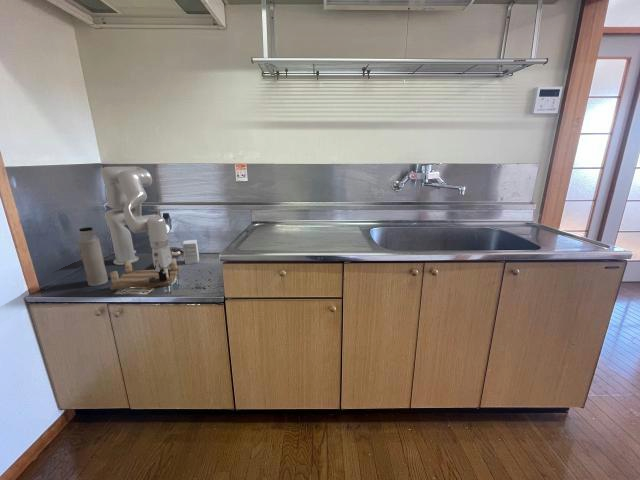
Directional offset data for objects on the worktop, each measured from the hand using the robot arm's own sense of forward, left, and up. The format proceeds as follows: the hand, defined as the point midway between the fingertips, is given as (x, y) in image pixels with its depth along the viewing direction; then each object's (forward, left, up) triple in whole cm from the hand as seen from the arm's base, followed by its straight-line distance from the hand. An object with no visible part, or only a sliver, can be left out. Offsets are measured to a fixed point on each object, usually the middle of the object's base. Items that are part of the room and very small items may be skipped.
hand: (165, 278), depth 139 cm
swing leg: (0, -3, -1) cm, 3 cm away
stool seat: (-7, -11, -3) cm, 13 cm away
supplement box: (-31, +5, -3) cm, 32 cm away
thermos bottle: (-8, -34, -3) cm, 35 cm away
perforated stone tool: (-29, -10, -3) cm, 31 cm away
